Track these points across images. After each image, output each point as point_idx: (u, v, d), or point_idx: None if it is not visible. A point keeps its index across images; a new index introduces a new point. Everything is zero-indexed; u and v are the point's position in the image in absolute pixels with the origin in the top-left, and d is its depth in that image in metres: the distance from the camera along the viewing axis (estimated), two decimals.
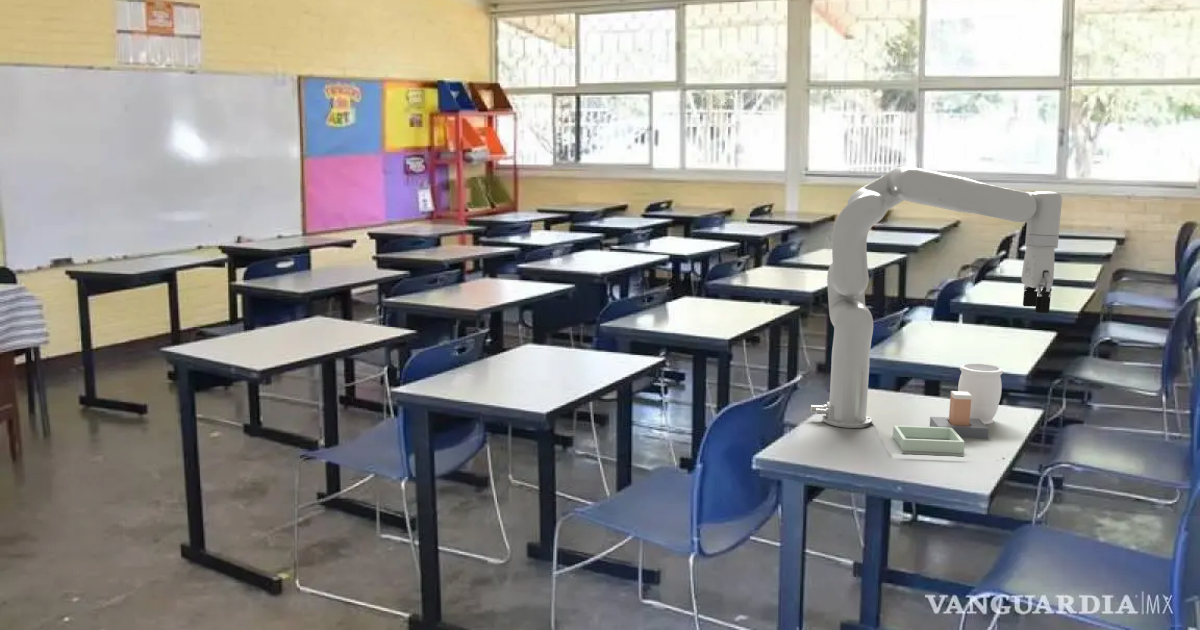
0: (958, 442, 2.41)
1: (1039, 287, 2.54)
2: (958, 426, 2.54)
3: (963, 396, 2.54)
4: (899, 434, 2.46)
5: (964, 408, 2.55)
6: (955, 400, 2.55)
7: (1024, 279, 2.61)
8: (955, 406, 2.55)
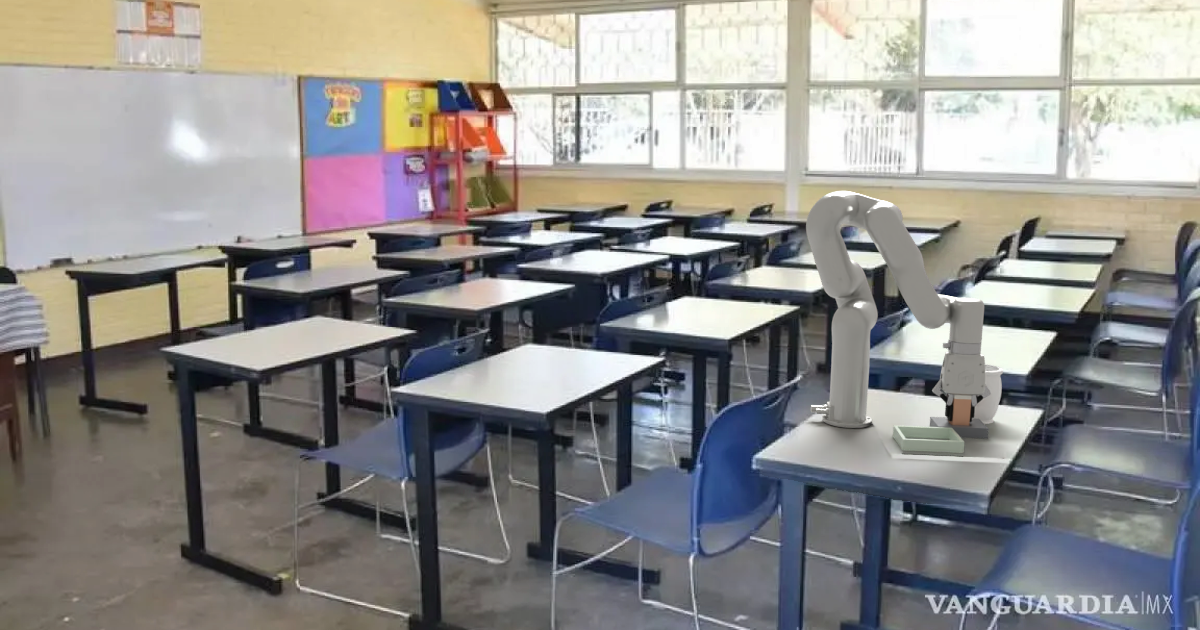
0: (958, 442, 2.41)
1: (975, 397, 2.55)
2: (958, 426, 2.54)
3: (963, 396, 2.54)
4: (899, 434, 2.46)
5: (964, 408, 2.55)
6: (955, 400, 2.55)
7: (956, 389, 2.53)
8: (955, 406, 2.55)
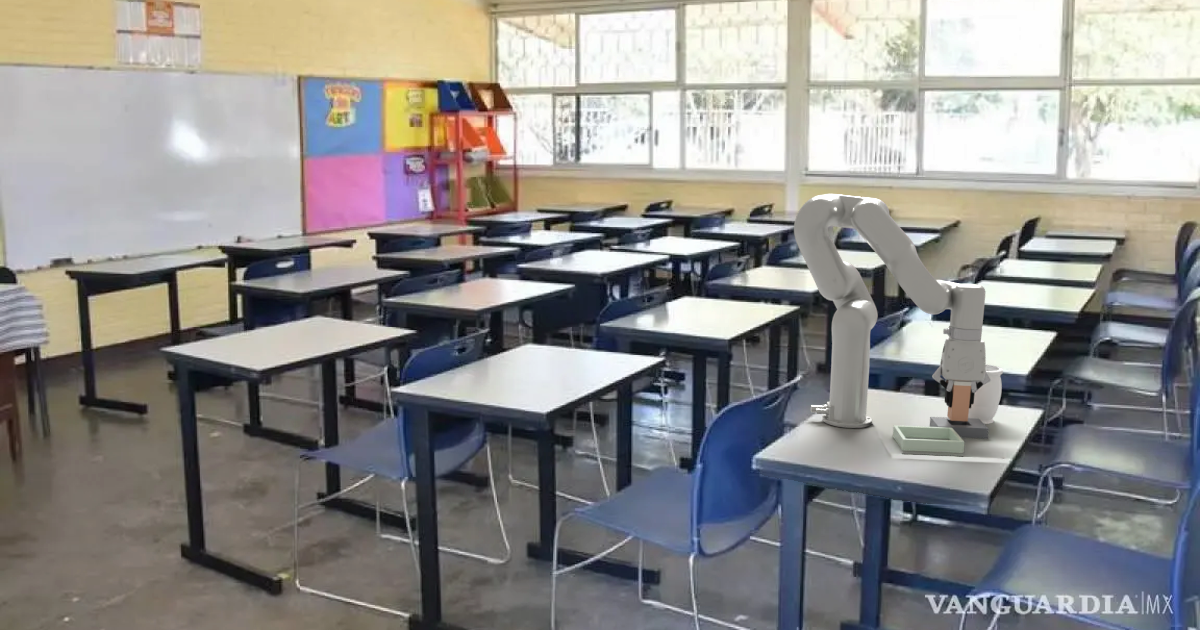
0: (958, 442, 2.41)
1: (975, 383, 2.54)
2: (958, 426, 2.54)
3: (963, 382, 2.54)
4: (899, 434, 2.46)
5: (963, 395, 2.54)
6: (955, 386, 2.54)
7: (956, 375, 2.53)
8: (955, 392, 2.55)
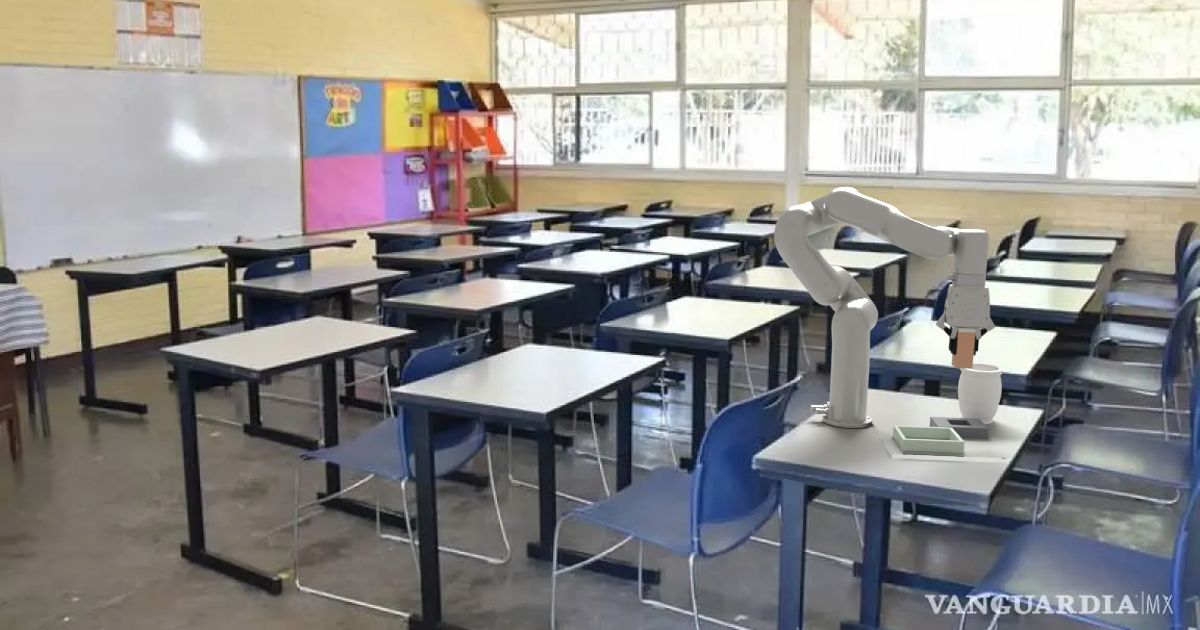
0: (958, 442, 2.41)
1: (979, 330, 2.52)
2: (958, 426, 2.54)
3: (967, 329, 2.51)
4: (899, 434, 2.46)
5: (968, 342, 2.52)
6: (959, 333, 2.52)
7: (960, 321, 2.50)
8: (959, 339, 2.52)
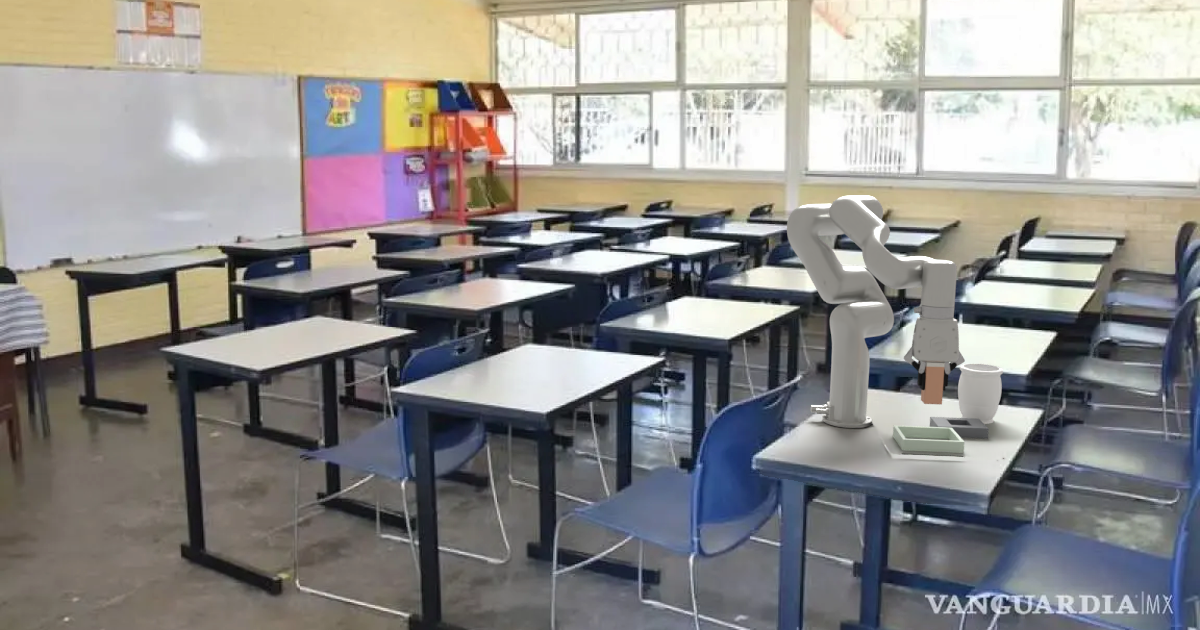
0: (958, 442, 2.41)
1: (949, 364, 2.43)
2: (958, 426, 2.54)
3: (936, 363, 2.42)
4: (899, 434, 2.46)
5: (937, 377, 2.42)
6: (927, 368, 2.42)
7: (928, 356, 2.41)
8: (927, 374, 2.43)
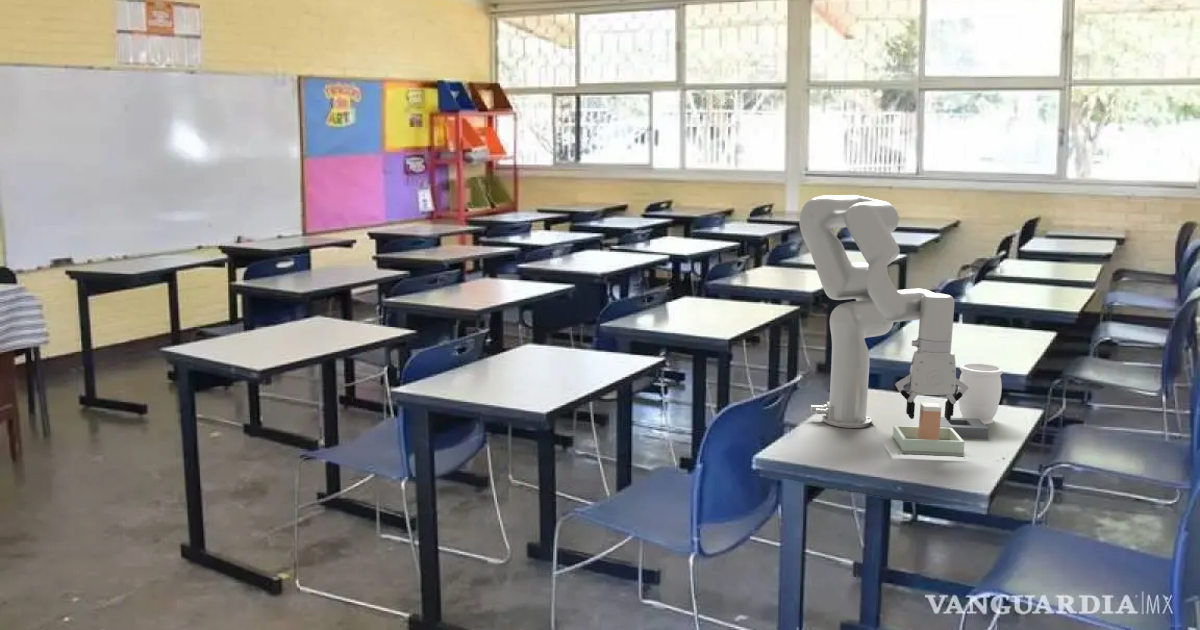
0: (958, 442, 2.41)
1: (951, 394, 2.44)
2: (958, 426, 2.54)
3: (932, 408, 2.44)
4: (899, 434, 2.46)
5: (933, 421, 2.45)
6: (924, 412, 2.44)
7: (925, 389, 2.43)
8: (924, 418, 2.45)
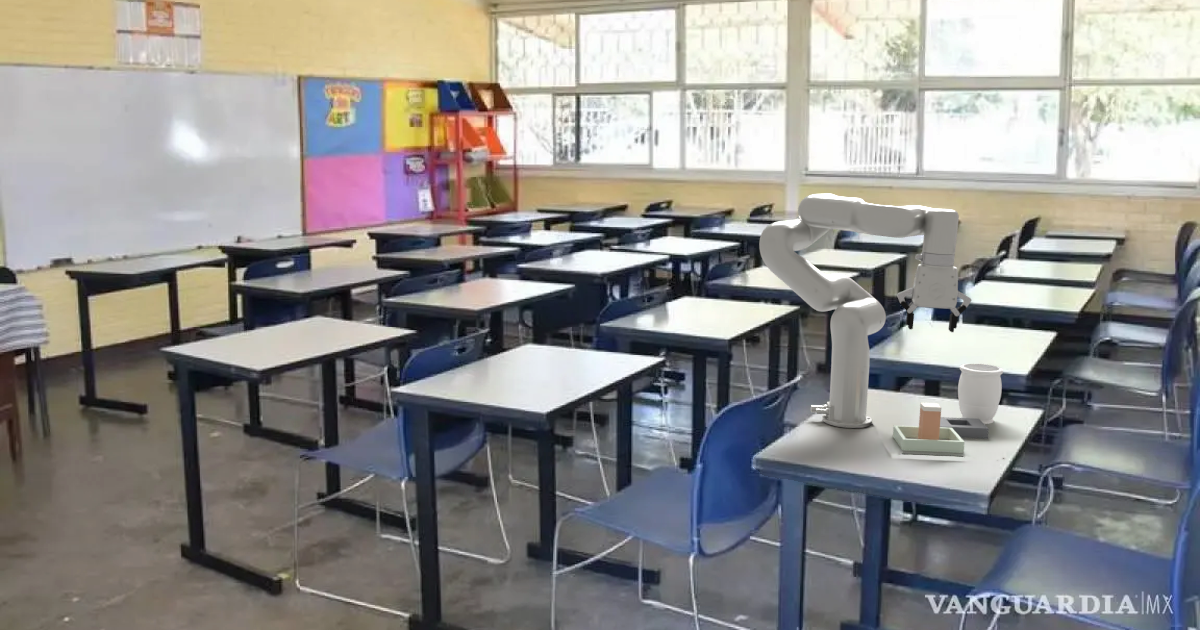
0: (958, 442, 2.41)
1: (954, 306, 2.49)
2: (958, 426, 2.54)
3: (932, 408, 2.44)
4: (899, 434, 2.46)
5: (933, 421, 2.45)
6: (924, 412, 2.44)
7: (927, 301, 2.48)
8: (924, 418, 2.45)
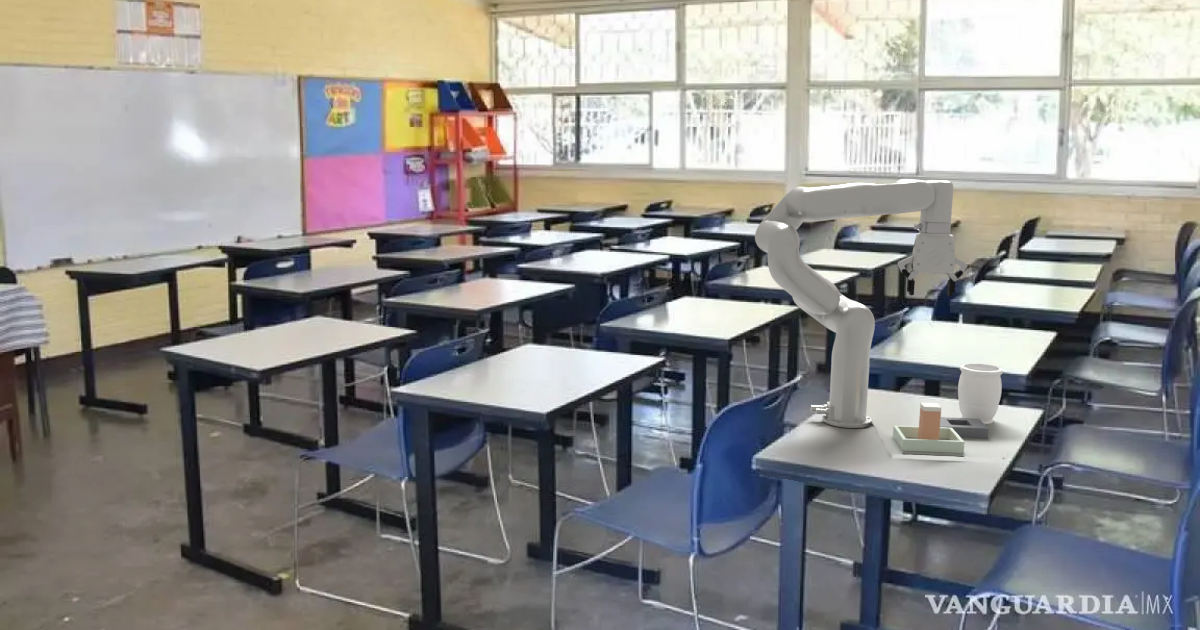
0: (958, 442, 2.41)
1: (952, 272, 2.64)
2: (958, 426, 2.54)
3: (932, 408, 2.44)
4: (899, 434, 2.46)
5: (933, 421, 2.45)
6: (924, 412, 2.44)
7: (927, 268, 2.63)
8: (924, 418, 2.45)
